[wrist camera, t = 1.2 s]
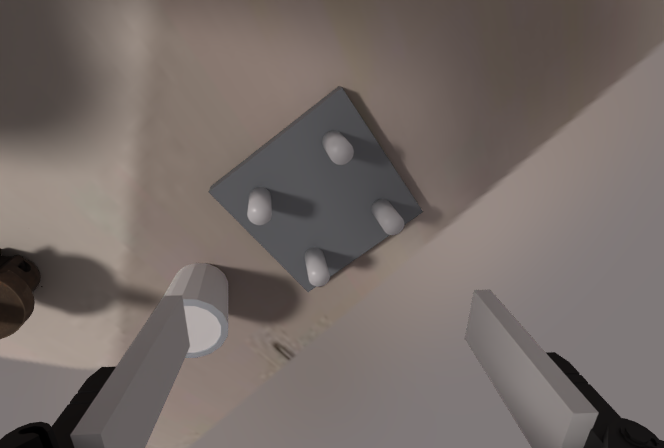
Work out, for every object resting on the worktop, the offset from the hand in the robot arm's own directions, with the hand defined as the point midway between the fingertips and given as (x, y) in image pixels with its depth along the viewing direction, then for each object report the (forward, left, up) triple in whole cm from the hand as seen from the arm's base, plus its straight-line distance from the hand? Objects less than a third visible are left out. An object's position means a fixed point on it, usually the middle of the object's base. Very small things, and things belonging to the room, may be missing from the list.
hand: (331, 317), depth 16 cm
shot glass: (+3, -16, -21) cm, 26 cm away
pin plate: (+3, 0, -21) cm, 21 cm away
